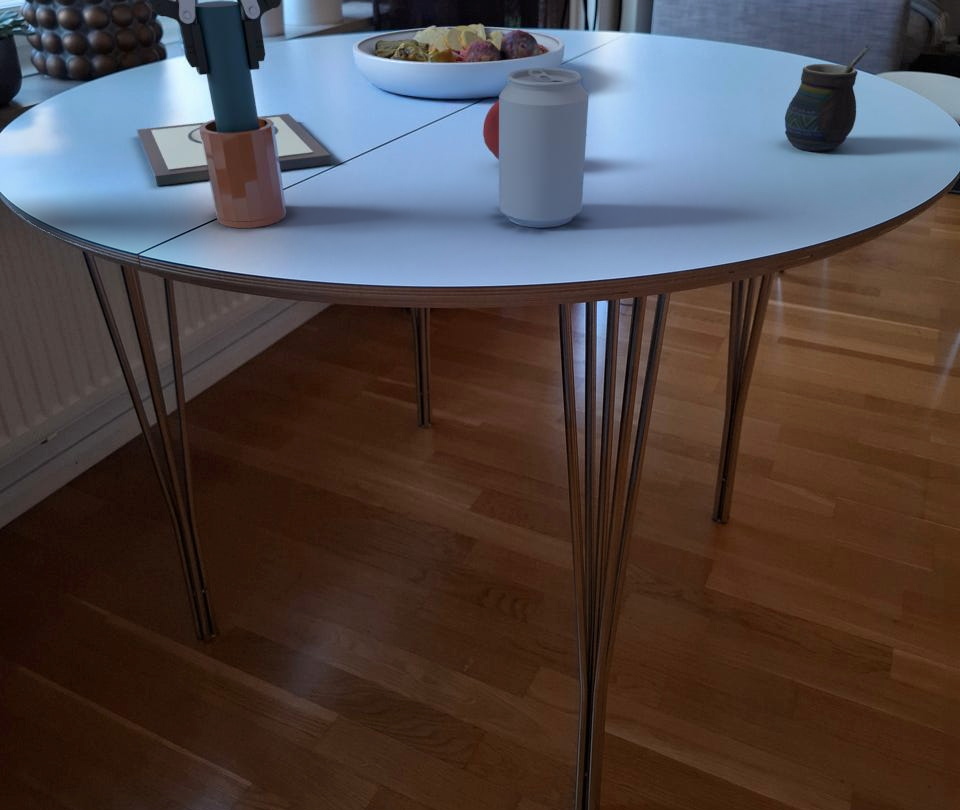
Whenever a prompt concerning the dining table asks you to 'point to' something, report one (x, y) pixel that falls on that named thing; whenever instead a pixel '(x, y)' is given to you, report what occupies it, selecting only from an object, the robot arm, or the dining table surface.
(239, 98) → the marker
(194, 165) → the picture frame
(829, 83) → the mate gourd
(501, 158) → the can
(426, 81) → the bowl
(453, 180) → the dining table surface
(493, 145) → the onion
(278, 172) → the pen cup
